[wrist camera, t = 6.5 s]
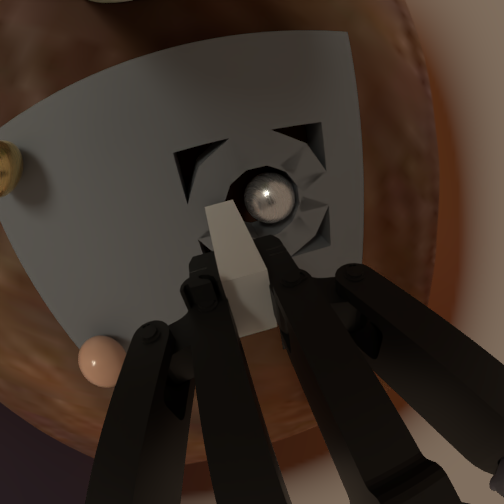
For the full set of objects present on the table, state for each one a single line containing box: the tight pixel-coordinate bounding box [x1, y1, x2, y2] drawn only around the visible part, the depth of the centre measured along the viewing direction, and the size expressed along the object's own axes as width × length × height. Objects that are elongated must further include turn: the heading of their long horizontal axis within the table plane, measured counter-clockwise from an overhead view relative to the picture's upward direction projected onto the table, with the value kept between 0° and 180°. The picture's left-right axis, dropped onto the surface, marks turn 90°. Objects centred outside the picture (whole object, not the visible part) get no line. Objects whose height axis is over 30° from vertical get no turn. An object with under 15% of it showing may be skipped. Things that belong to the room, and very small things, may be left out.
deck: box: [0, 30, 364, 354], centre depth 17 cm, size 24×20×2 cm
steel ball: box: [244, 172, 295, 223], centre depth 17 cm, size 3×3×3 cm
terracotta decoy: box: [78, 335, 126, 387], centre depth 17 cm, size 4×4×4 cm
